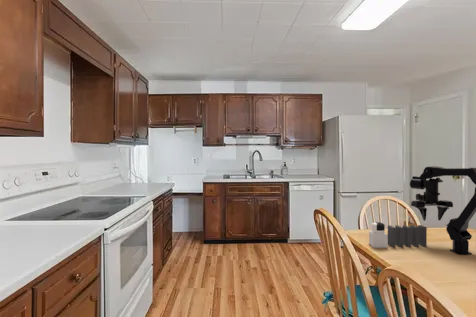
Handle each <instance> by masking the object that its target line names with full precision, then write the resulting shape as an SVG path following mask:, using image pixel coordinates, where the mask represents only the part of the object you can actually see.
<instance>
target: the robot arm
mask: <svg viewBox="0 0 476 317" xmlns="http://www.w3.org/2000/svg"><path fill="white" fill-rule="evenodd" d="M444 176H445V177H446V176H447V177H449V176H450V177H451V176H453V177H457V176H458V177H469V179H470V180H471V182H472V183H473V184H474V185H475V187H474V193H473V195H472V197H471V198H470V199H469V201H468V203H467V204H466V206H465V207H464V208H463V210H462V211H461V213H460V214H459V216H458V217H455V218H452V219H449V222H448V223H447V224H446V225H445V226H446V230H445V231H446V233H447V234H448V236H449V239H450V240H451V241H452V248H449V251H450V252H452V253H455V254H457V255H473V254H472V253H473V252H470V251H469V250H470V249H469V244H470V243H469V240H471V239H472V237H473V235H472V234H471V233H470V232H469V231H468V229H469V222H470V221H471V220H472V218H473V217H474V215H475V214H476V167H467V168H466V167H463V168H462V167H461V168H460V167H455V168H454V167H453V168H452V167H451V168H450V167H441V166H435V165H433V166H426V167H424V169H423V170H422V173H421V175H420V176H414V175H413V176H412V177H411V179H410V182H409V186H410V188H411V189H414V190H425V191H424V192H423V194H421V193H416V194H415V200H412V201H411V204H410V206H411V207H413V208H417V210H419V213H420V215H421V218H422V220H423V221H426V219H427V212H428V208H427V207H429V206H433V207H435V206H436V208H437V220H438V221H441V219H443V217H444V215H445V213H446V212H447V210H449V209H450V208H454V203H453V201H451V200H446V199H444V200H443V199H441V200H439V196H441V193H440V192H439V183H443V182H444V181H443V180H442V179H441V178H440V177H444ZM426 206H427V207H426Z"/></svg>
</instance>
